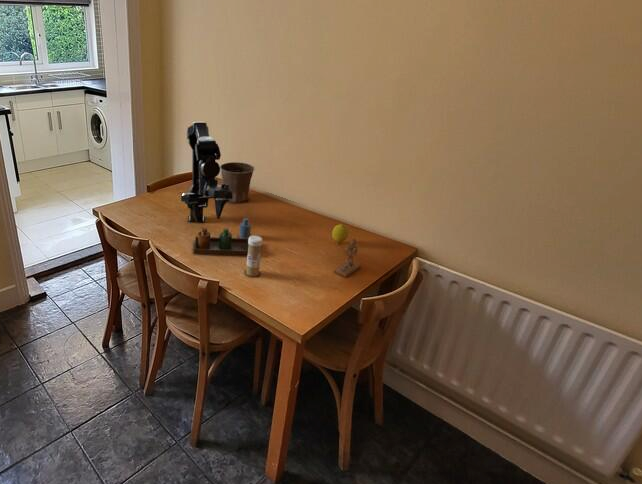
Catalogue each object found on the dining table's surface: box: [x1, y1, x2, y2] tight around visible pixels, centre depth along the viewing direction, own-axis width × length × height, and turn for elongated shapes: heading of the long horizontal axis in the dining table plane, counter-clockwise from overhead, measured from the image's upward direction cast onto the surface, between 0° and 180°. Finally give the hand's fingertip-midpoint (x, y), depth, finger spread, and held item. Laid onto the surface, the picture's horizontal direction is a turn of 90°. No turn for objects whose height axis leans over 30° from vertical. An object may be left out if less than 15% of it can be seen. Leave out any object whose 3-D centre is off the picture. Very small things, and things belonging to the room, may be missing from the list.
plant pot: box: [219, 161, 255, 204], centre depth 199 cm, size 16×16×16 cm
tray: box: [193, 236, 249, 257], centre depth 155 cm, size 10×23×2 cm, turn 85°
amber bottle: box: [197, 227, 211, 249], centre depth 155 cm, size 5×5×8 cm
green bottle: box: [218, 228, 233, 250], centre depth 154 cm, size 5×5×8 cm
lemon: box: [331, 223, 349, 244], centre depth 158 cm, size 6×6×8 cm
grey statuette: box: [335, 238, 360, 278], centre depth 139 cm, size 9×4×12 cm, turn 131°
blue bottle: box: [238, 217, 252, 239], centre depth 162 cm, size 4×4×8 cm
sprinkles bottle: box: [245, 235, 263, 277], centre depth 137 cm, size 5×5×14 cm
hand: (207, 220), depth 147 cm, fingers open, 9 cm apart
